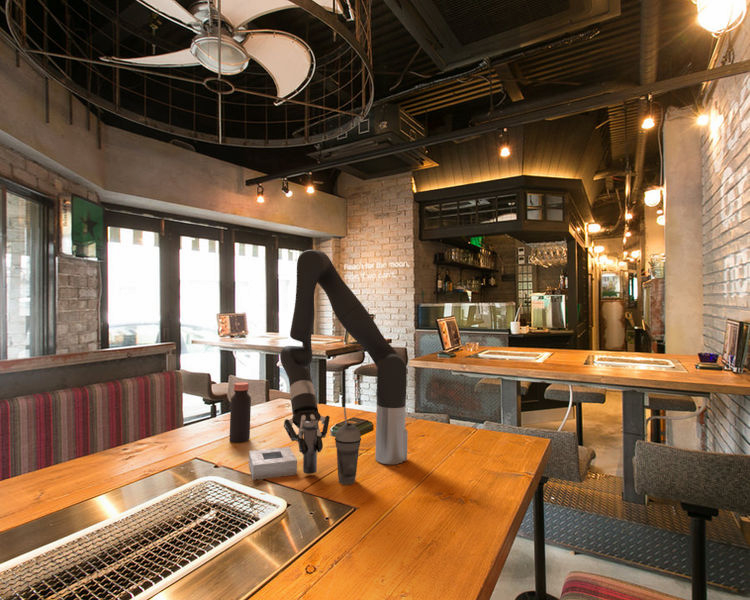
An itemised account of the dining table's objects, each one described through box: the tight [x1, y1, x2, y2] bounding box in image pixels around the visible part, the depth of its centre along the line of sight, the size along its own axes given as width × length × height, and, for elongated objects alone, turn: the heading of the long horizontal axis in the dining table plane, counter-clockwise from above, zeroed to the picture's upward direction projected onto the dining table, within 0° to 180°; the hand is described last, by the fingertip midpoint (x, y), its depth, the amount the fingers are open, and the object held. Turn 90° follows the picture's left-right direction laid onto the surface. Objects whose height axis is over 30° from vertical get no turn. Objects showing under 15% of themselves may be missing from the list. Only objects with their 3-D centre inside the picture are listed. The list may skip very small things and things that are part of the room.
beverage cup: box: [334, 407, 362, 486], centre depth 111 cm, size 7×7×20 cm
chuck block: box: [248, 446, 298, 481], centre depth 118 cm, size 12×12×4 cm
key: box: [302, 419, 319, 475], centre depth 114 cm, size 4×4×14 cm
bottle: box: [229, 381, 252, 444], centre depth 143 cm, size 7×7×20 cm
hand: (311, 451), depth 112 cm, fingers closed on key, 3 cm apart
